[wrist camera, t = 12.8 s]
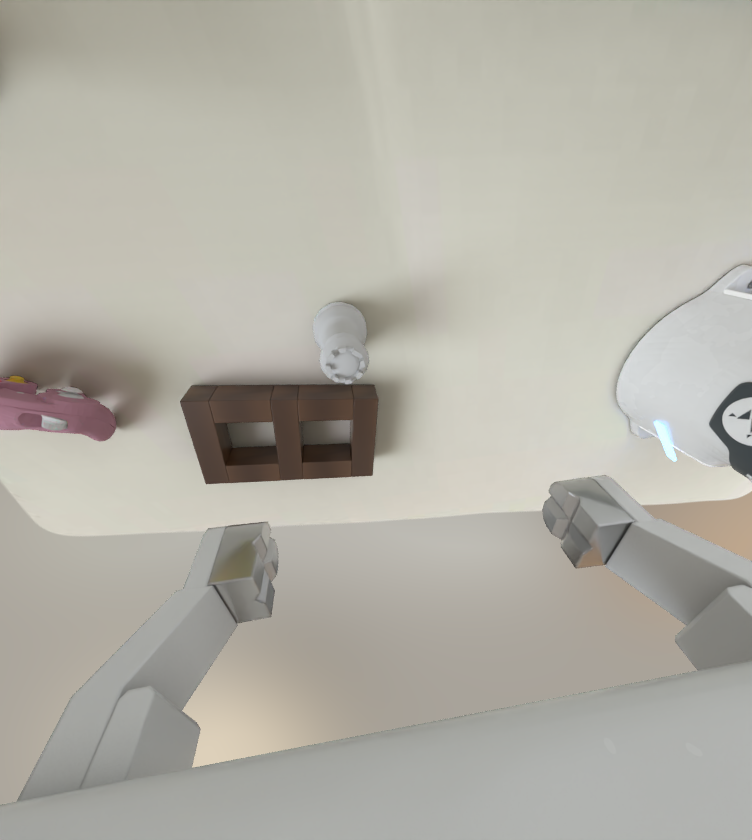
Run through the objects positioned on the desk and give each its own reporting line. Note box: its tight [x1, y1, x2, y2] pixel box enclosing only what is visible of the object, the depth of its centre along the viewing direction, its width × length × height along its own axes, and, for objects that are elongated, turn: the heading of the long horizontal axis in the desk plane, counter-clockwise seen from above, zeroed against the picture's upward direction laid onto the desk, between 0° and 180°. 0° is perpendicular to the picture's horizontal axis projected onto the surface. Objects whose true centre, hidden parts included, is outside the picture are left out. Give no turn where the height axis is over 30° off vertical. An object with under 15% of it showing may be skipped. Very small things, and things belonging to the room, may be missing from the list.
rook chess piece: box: [313, 302, 369, 385], centre depth 24 cm, size 4×4×8 cm
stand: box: [180, 385, 378, 484], centre depth 30 cm, size 16×9×3 cm, turn 86°
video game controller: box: [0, 376, 116, 441], centre depth 24 cm, size 10×5×7 cm, turn 69°
